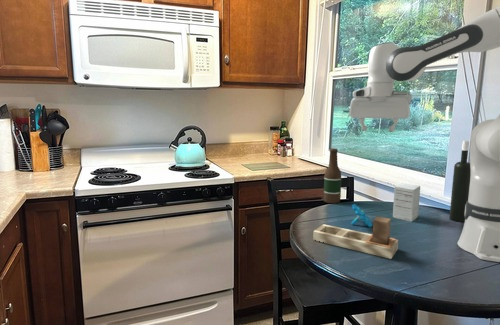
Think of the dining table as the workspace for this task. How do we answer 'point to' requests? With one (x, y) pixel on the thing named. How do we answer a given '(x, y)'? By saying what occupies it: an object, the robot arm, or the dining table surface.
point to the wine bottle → (460, 186)
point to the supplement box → (406, 202)
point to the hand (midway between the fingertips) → (377, 131)
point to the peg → (381, 230)
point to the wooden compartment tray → (354, 241)
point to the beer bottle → (332, 180)
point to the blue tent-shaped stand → (361, 216)
